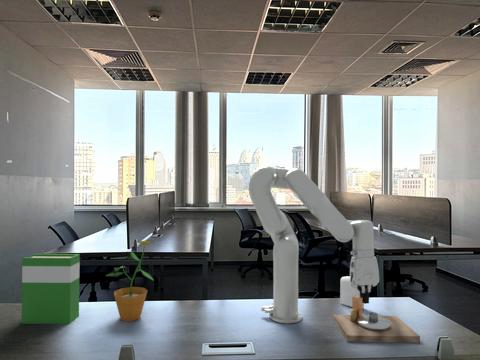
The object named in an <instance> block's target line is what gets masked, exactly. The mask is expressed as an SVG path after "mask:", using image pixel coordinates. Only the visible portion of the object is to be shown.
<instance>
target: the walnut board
mask: <svg viewBox="0 0 480 360" xmlns="http://www.w3.org/2000/svg"><path fill="white" fill-rule="evenodd" d="M349 310H350V311H349V312H350V314H333V315H332V318H333V319H332V320H333V322H334V323H335V326H336V327H337V328H338V330H339V331H340V333H341V334H342V336H343V338H344V339H345V341H346V342H353V343H355V342H361V343H362V342H365V343H372V342H373V343H421V336H420V335H419V334H418V333H416V331H414V329H412V328H411V326H408V325H407V324H406V323H405V321H403V320H402V319H401V318H400V317H398V316H397V315H378V317H382V318H385V319H387V320H388V321H389V322H390V329H388V330H384V331H375V330H369V329H366V328H363V327H361V326H359V325H358V323H357V320H356V310H355V309H352V308H350V309H349ZM362 316H363V314H362Z"/></svg>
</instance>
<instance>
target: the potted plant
mask: <svg viewBox="0 0 480 360" xmlns="http://www.w3.org/2000/svg"><path fill="white" fill-rule="evenodd" d="M151 242H152V240H141V241H140V240H139V241H135V242H133V244H134V243H135V244H139V245H141V246H142V247H143V251H142V254H141V257H138V256H137V255H136V254H135V253H134V252H133V251H130V252H129V255H128V259H129V260H133V261H136V262H137V261H138V262H139V263H138V265H137V267H136V269H135V271H134V273H133V276H132V278H131V277H130V276H129V275H128V274H127V273H126V272H125V269H128V267H127V266H125V265H122V266H120V267H113V270H112V271H110V272H109V273H106V275H105V276H104V277H113V278H118V277H120V276H121V275H123V274H125V276H127V278H128V279H129V280H130V281H131V282H130V286H129V287H121V288H120V289H117V290H115V291H114V292H113V293H114V294H113V296H114V300H115V303H116V308H117V311H118V315H119V318H120V321H123V322H133V321H137V320H139V319H141V315H142V313H143V309H144V305H145V301H146V298H147V294H148V289H146V288H145V287H142V286H141V287H140V286H133V282H134V279H135V277H136V274H137V273H138V272H140V273H141V274H142V275H143V276H144V278H147V279H149V280H152V281H154V278H153V277H152V275H151V273H149V272H146V271H144V270H143V269H141V268H142V267H141V263H142V260H143V257H144V254H145V247H146V246H147V244H149V243H151ZM121 269H122V270H123V271H120V270H121Z"/></svg>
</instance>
